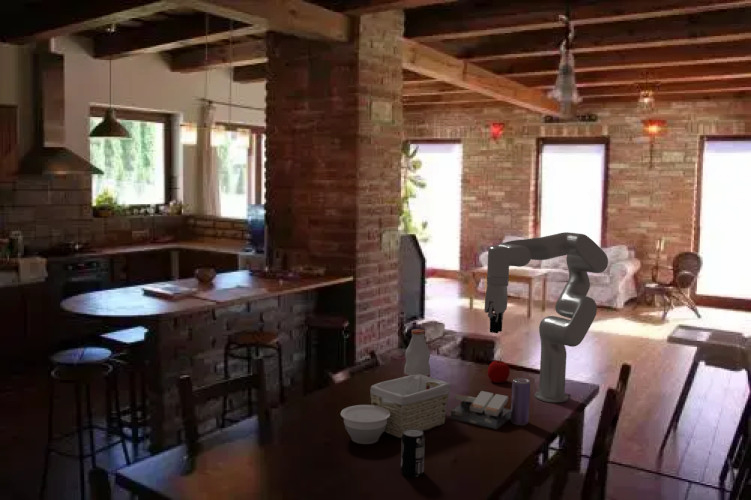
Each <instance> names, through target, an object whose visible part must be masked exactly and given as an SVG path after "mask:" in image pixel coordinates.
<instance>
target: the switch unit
mask: <svg viewBox="0 0 751 500" xmlns="http://www.w3.org/2000/svg"><path fill="white" fill-rule="evenodd" d="M472 403H473V402H466V401H462V400H461V401H460V404H459V405H457V406H456V407H455V408H453V409H451V410H450V419H451V420H453V421H454V420H455V421H460V422H464V423H467V424H472V425H476V426H481V427H485V428H489V429H493V430H497V429H499V428H501V426H503V425H504V424H506V423H507V422H508V421H511V409H509V408H505V407H503V409H502V410H501V411H500V413H499V414H498V416H492V415H488V414H485V412H484V411H483V413H479V412H474V411H470V405H471V404H472Z"/></svg>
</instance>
